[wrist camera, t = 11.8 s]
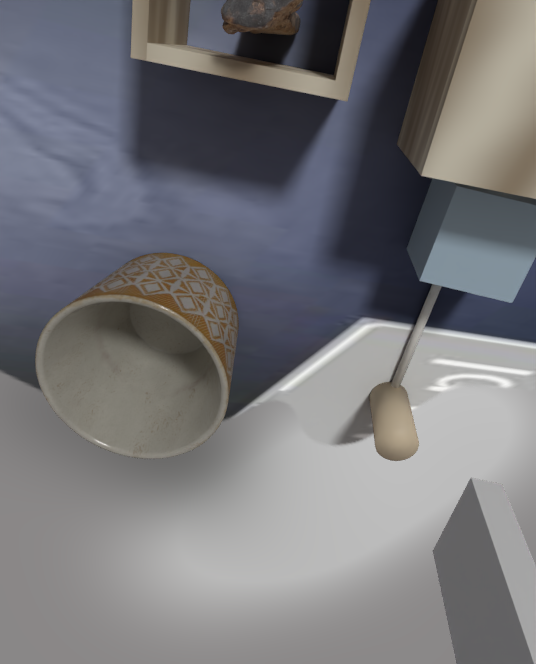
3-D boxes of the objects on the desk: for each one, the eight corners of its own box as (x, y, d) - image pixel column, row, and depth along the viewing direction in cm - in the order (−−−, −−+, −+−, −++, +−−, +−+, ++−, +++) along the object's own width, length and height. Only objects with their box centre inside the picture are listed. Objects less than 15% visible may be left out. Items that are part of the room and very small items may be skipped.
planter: (269, 267, 39) (251, 333, 29) (229, 393, 45) (203, 480, 36) (109, 217, 38) (40, 268, 29) (91, 352, 44) (29, 429, 35)
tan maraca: (349, 404, 44) (352, 451, 39) (436, 166, 34) (456, 186, 29) (415, 419, 44) (427, 468, 39) (523, 187, 34) (558, 210, 29)
